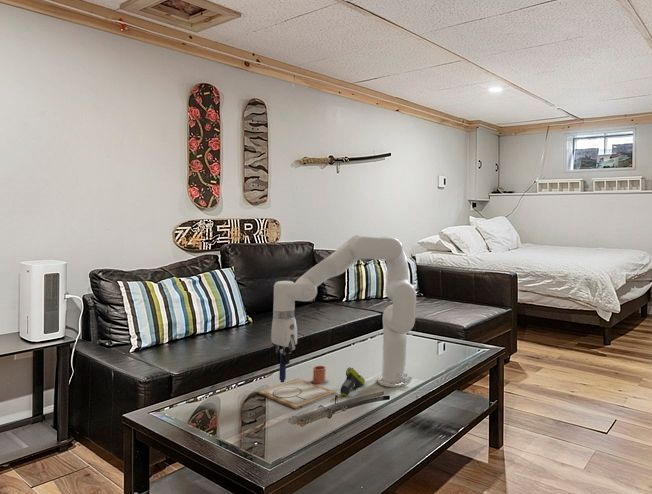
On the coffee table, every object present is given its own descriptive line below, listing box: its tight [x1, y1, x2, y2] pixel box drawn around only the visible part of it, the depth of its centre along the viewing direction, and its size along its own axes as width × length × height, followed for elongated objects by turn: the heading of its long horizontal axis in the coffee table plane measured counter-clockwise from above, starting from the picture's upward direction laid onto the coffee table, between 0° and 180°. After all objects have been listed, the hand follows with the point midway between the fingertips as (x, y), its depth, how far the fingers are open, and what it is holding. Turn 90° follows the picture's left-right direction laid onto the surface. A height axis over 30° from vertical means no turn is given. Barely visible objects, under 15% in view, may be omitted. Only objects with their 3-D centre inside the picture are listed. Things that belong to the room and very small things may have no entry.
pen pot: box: [312, 365, 327, 384], centre depth 197 cm, size 5×5×6 cm
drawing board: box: [258, 378, 336, 410], centre depth 185 cm, size 22×18×1 cm
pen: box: [278, 349, 287, 383], centre depth 183 cm, size 2×2×12 cm
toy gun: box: [339, 366, 366, 398], centre depth 189 cm, size 2×14×10 cm
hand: (282, 363), depth 183 cm, fingers closed on pen, 2 cm apart
